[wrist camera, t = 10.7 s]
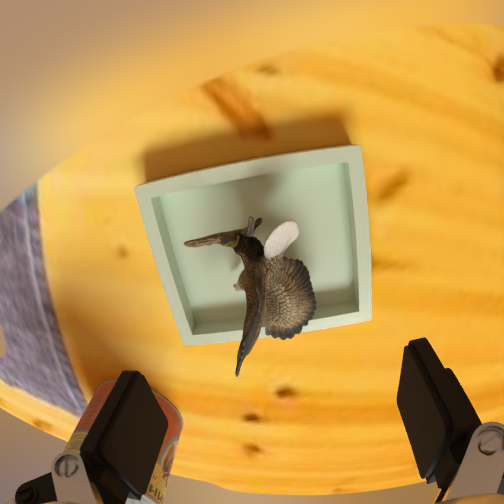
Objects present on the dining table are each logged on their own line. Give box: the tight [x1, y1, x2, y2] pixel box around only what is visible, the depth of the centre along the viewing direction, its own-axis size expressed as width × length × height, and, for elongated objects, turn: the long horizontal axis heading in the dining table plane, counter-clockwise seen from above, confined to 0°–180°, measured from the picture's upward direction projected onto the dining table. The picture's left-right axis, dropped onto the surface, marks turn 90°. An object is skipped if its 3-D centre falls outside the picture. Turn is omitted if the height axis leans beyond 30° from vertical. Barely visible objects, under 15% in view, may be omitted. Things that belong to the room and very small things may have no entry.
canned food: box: [63, 380, 183, 504], centre depth 26 cm, size 11×11×12 cm
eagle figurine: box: [184, 217, 317, 377], centre depth 19 cm, size 8×7×9 cm
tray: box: [134, 144, 372, 346], centre depth 22 cm, size 15×13×2 cm
